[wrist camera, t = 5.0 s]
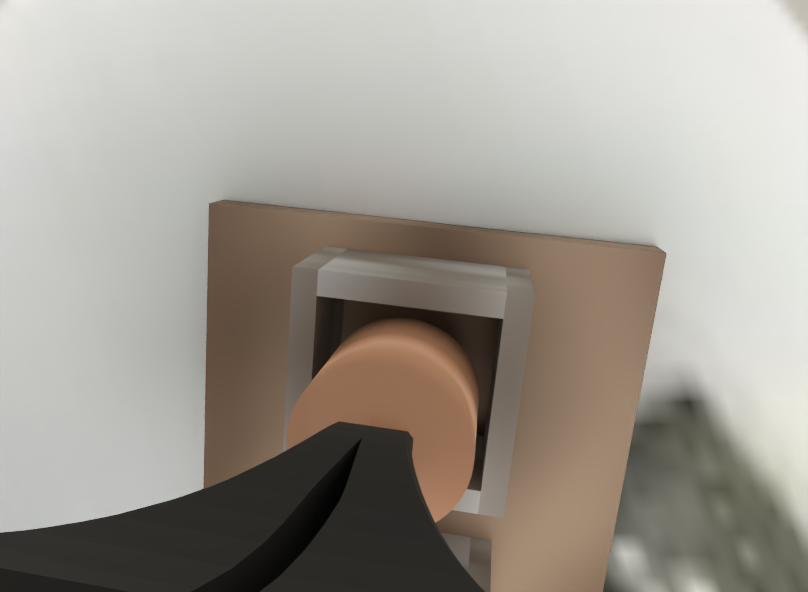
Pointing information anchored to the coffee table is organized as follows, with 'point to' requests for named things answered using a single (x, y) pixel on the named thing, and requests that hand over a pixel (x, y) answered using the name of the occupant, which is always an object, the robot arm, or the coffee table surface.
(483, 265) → the panel
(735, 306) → the coffee table surface
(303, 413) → the plug terracotta
